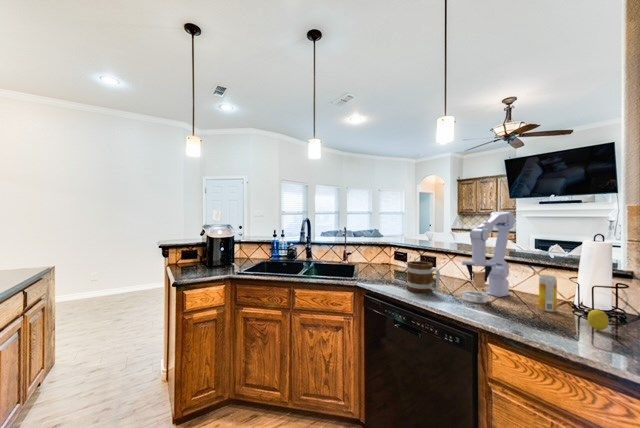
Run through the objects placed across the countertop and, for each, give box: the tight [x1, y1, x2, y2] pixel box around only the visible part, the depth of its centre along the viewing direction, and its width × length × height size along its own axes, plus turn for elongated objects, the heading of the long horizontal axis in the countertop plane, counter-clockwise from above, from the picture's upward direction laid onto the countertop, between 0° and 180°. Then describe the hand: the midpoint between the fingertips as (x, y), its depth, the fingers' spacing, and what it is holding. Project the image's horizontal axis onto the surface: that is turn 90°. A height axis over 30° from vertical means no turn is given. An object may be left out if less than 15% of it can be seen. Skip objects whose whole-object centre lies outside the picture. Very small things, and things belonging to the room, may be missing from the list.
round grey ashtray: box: [461, 289, 489, 304], centre depth 140 cm, size 11×11×3 cm
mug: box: [406, 260, 441, 295], centre depth 154 cm, size 20×14×15 cm
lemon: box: [587, 308, 610, 332], centre depth 103 cm, size 6×6×8 cm
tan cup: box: [472, 270, 486, 289], centre depth 139 cm, size 6×6×7 cm
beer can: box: [538, 274, 558, 313], centre depth 125 cm, size 6×6×15 cm
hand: (478, 280), depth 139 cm, fingers closed on tan cup, 5 cm apart
